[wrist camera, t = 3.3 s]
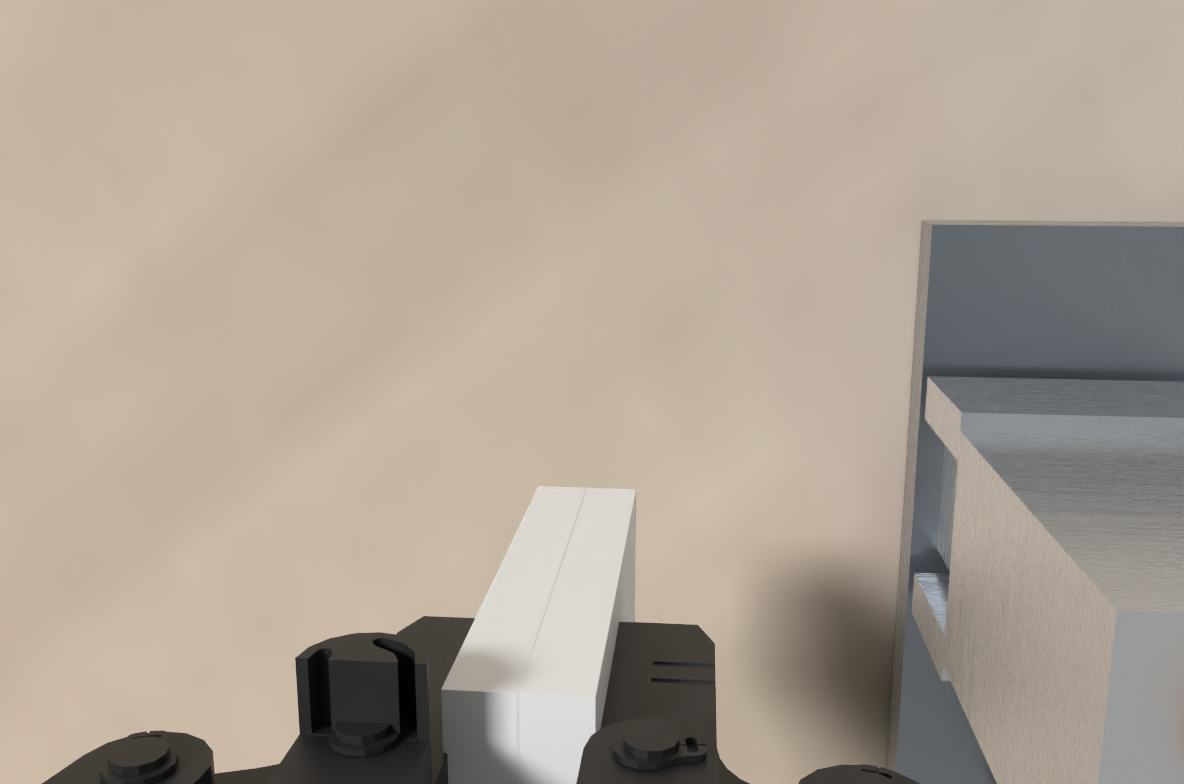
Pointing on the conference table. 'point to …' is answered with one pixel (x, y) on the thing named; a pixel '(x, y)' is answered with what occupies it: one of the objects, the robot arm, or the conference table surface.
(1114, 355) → the flange plate
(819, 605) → the conference table surface
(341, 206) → the conference table surface
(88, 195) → the conference table surface
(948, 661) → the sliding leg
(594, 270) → the conference table surface
